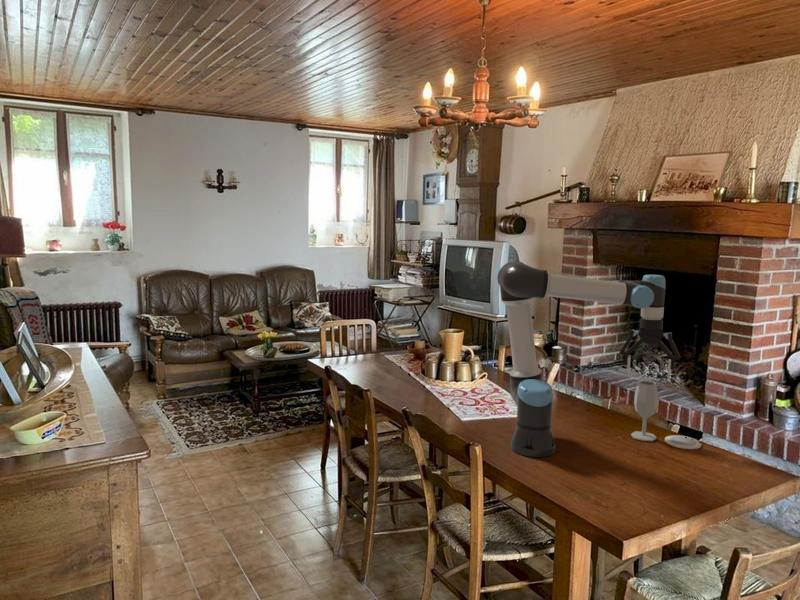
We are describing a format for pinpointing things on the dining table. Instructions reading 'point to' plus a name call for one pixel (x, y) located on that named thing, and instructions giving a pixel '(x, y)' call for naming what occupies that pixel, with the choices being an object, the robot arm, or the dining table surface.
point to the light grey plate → (682, 442)
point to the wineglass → (645, 407)
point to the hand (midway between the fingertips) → (648, 375)
